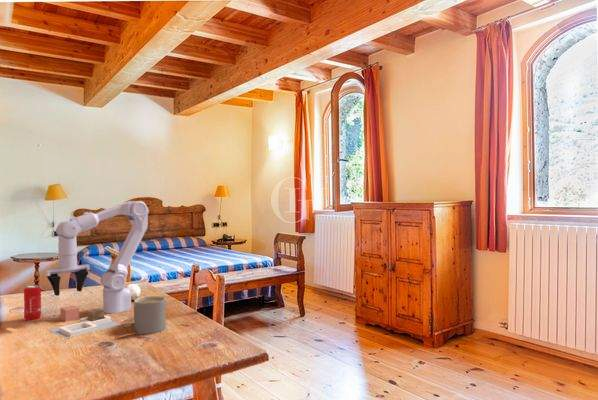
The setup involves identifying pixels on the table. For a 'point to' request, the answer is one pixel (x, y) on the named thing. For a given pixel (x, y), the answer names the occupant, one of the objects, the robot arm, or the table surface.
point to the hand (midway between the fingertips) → (68, 293)
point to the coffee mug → (149, 314)
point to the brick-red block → (69, 313)
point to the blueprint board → (84, 327)
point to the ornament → (134, 291)
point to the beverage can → (32, 302)
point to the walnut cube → (95, 314)
